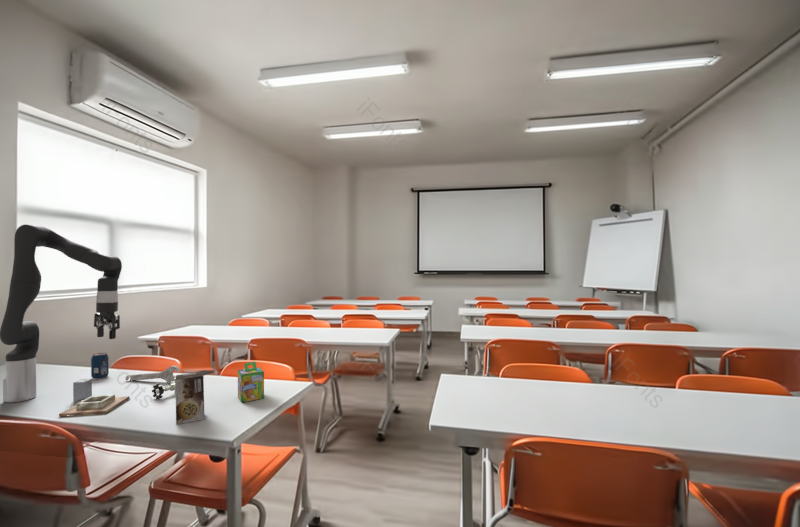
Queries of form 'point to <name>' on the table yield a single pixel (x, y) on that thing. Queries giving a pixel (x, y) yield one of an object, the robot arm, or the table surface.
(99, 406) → the collar base
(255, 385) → the chalk box
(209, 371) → the phone
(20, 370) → the robot arm
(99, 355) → the soda can
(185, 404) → the printed cardboard box
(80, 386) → the block
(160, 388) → the valve
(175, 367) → the wrench
